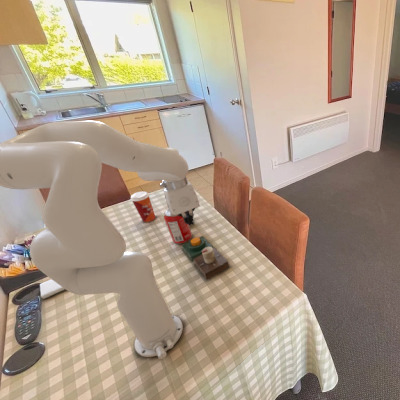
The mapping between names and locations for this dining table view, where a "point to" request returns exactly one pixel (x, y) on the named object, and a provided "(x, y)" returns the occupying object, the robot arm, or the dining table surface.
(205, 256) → the dimmer knob
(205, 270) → the dimmer panel
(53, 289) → the hard drive
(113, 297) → the dining table surface
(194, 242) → the power button
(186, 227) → the soda can
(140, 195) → the paper cup
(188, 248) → the switch box
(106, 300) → the dining table surface
